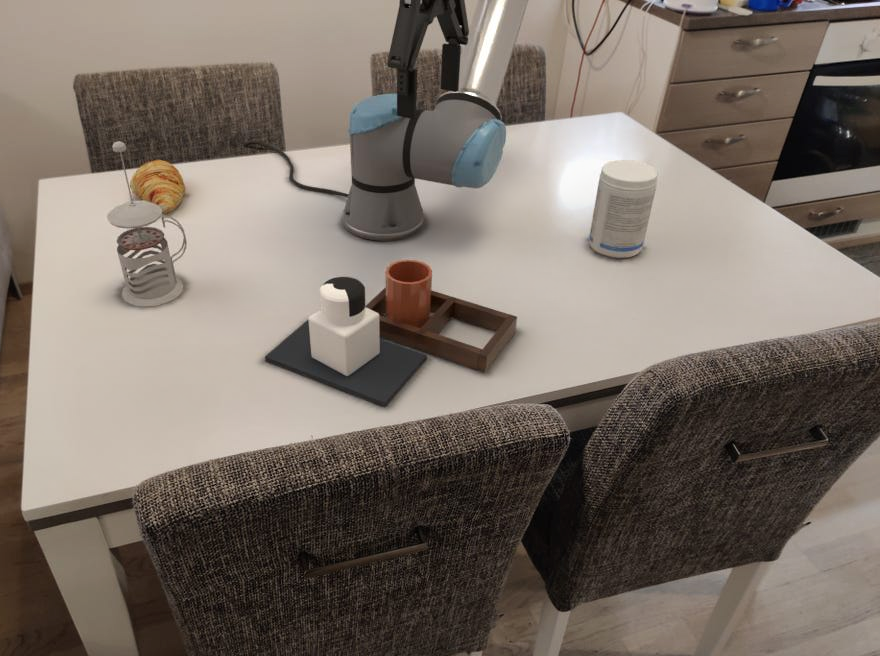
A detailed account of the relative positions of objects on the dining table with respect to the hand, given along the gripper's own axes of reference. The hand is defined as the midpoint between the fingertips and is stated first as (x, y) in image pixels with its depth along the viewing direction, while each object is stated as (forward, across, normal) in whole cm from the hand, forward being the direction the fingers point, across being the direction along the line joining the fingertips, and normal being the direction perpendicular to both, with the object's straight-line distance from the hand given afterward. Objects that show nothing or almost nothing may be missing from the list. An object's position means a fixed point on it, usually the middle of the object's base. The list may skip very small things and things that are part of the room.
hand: (428, 103), depth 107 cm
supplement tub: (+29, +25, -26) cm, 46 cm away
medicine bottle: (+28, -28, -2) cm, 39 cm away
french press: (+29, -27, +35) cm, 53 cm away
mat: (+29, -28, -2) cm, 40 cm away
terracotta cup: (+29, -14, -5) cm, 33 cm away
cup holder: (+29, -14, -10) cm, 34 cm away
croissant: (+29, -1, +60) cm, 67 cm away
